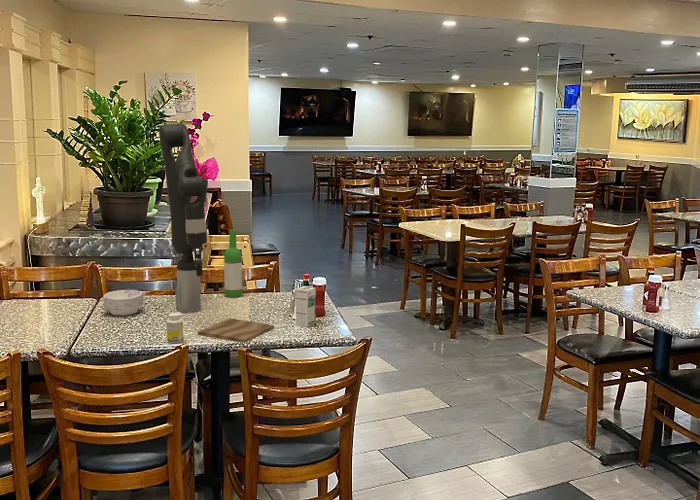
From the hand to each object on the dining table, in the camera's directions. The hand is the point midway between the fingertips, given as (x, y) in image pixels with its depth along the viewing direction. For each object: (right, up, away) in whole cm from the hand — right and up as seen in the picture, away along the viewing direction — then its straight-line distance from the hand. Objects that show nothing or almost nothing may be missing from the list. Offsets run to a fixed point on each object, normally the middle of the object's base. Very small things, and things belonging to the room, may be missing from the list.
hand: (199, 273), depth 253 cm
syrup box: (+39, -20, +7) cm, 45 cm away
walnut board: (+15, -21, -4) cm, 26 cm away
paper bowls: (-34, -17, +18) cm, 42 cm away
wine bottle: (+4, -12, +49) cm, 51 cm away
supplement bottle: (-5, -23, -17) cm, 29 cm away
